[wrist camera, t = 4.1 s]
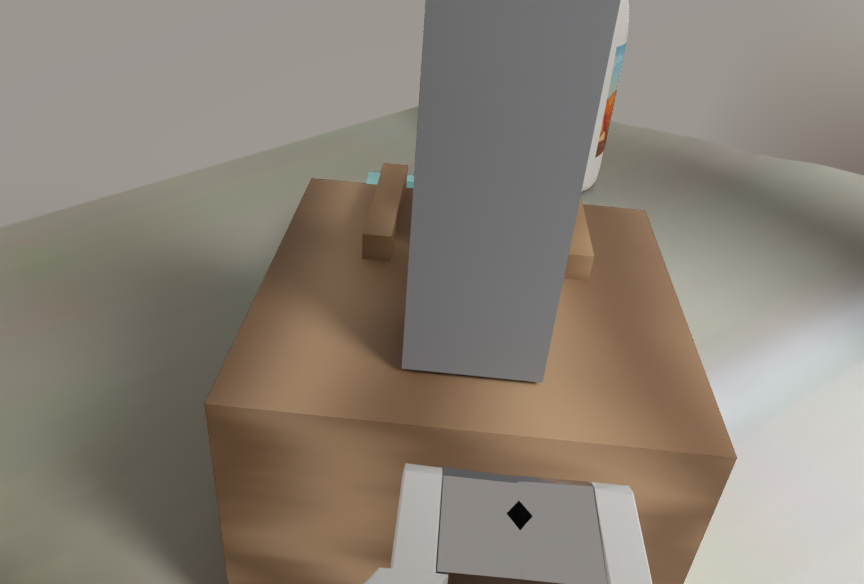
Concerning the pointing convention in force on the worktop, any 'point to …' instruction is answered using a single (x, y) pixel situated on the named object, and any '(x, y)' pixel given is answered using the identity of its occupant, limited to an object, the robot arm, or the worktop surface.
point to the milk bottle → (607, 96)
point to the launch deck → (448, 395)
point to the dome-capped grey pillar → (499, 178)
